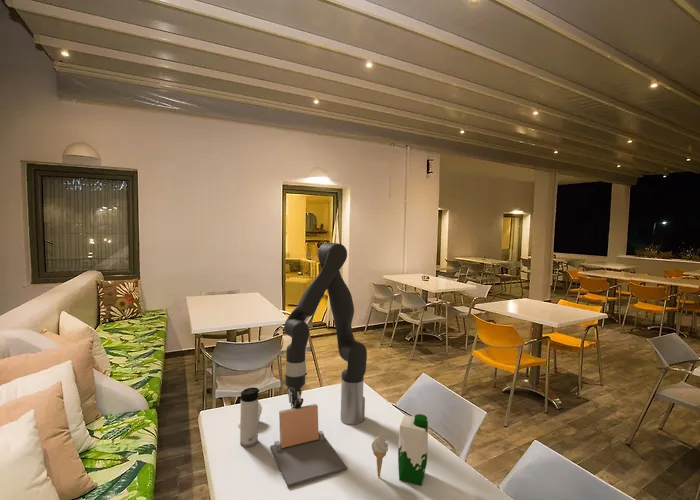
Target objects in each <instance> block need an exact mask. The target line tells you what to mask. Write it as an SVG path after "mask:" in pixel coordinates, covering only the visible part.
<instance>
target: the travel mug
mask: <svg viewBox="0 0 700 500" xmlns="http://www.w3.org/2000/svg"><path fill="white" fill-rule="evenodd" d="M259 392H260V389H259V388H258V387H248V388H244V389H243V390H242V391H241V392H240V416H239V417H240V419H239V421H240V429H239V430H240V431H239V434H240V435H239V438H240V439H239V443H240V444H239V445H241V446H242V447H244V448H251V447H253V446H255V445H257V444H258V441H259V423H258V402H259Z"/></svg>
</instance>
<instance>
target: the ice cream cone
mask: <svg viewBox="0 0 700 500" xmlns="http://www.w3.org/2000/svg"><path fill="white" fill-rule="evenodd" d="M378 433H379V434H378V435H377V437H375V439H373V441H372V443H371V445H370V446H371V450H372V452H373V455H374V457H376V471H377V478H380V477H381V472H382V464H383V459H384V457H386V456H387V452H388V450H389V444H388V442H386V439H385V438H384V436H383V435H382V432H381V431H380V432H378Z"/></svg>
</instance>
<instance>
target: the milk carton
mask: <svg viewBox="0 0 700 500" xmlns="http://www.w3.org/2000/svg"><path fill="white" fill-rule="evenodd" d="M428 441H429V419H428V417H427V415H424V414H422V413H421V414H420V413H419V414H415V415H414V416H413V415H406V414H404V416H403V418H402V420H401V423H400V424H399V431H398V450H397V451H398V453H397V456H398V458H397V465H398V468H397V469H398V480H399V481H402V482H405V483H408V484H413V485H415V486H420V487H422V486H423V482H424V477H425V472H426V469H427V464H428V447H429V446H428Z"/></svg>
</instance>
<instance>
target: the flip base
mask: <svg viewBox="0 0 700 500" xmlns="http://www.w3.org/2000/svg"><path fill="white" fill-rule="evenodd" d="M273 443H274V444H272V445H271V444H270V445H269V446H270V447H269V449H270V451H271V454H272V456H273V458H274V461H275V462H276V464H277V467H278V469H279V472H280V474H281V476H282V478H283V480H284V482H285V485H286V488H287V489H290V488H293V487H296V486H297V487H298V486H301V485H304V484H307V483H311V482H314V481H317V480H320V479H323V478H327V477H328V478H329V477H330V476H331V477H332V476H334V475H338V474H341V473H345V472H348V466H347V464H346V463H345V462H344V460H343V459H342V458H341V457H340V455H339V454H338V453H337V451H336V449H334V448H333V446H332V444H331V442H329V441H328V439H327V438H326V437H325V433H324V431H323V430H319V439H317V440H313V441H309V442H305V443H300V444H296V445H292V446H288V447H284V448H281V444H280V440H275V441H274V442H273Z"/></svg>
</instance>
